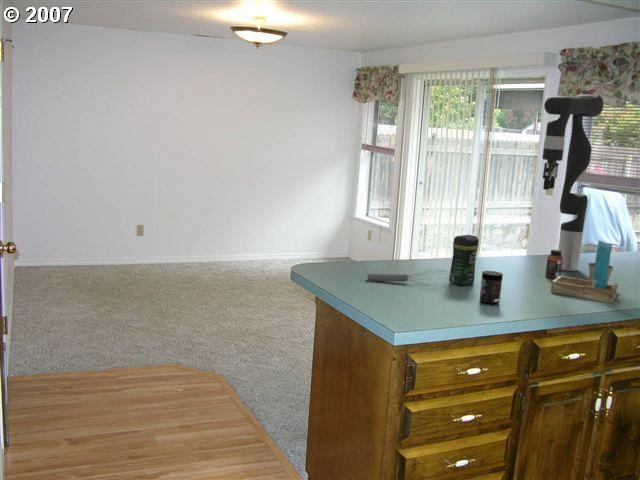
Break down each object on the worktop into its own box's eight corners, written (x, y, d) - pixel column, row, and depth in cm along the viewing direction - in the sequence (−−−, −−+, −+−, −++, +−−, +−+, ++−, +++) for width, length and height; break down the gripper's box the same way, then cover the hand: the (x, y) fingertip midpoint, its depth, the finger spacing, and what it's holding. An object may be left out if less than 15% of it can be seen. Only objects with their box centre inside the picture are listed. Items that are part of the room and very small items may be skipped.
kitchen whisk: (361, 278, 248) (362, 262, 247) (452, 286, 246) (453, 269, 245) (361, 282, 242) (362, 265, 241) (453, 290, 240) (455, 273, 239)
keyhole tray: (557, 285, 257) (559, 273, 256) (616, 295, 246) (618, 282, 245) (550, 291, 246) (552, 278, 245) (611, 302, 235) (613, 289, 234)
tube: (610, 296, 240) (617, 244, 237) (599, 296, 239) (607, 244, 235) (595, 290, 247) (602, 240, 244) (585, 291, 246) (592, 240, 242)
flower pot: (609, 286, 262) (613, 264, 260) (611, 291, 253) (615, 269, 252) (584, 282, 265) (587, 261, 263) (585, 287, 256) (588, 266, 255)
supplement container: (487, 299, 228) (490, 270, 226) (503, 304, 223) (507, 274, 221) (474, 301, 224) (478, 271, 222) (491, 306, 219) (495, 276, 217)
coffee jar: (463, 287, 244) (468, 237, 241) (445, 282, 249) (450, 234, 246) (477, 284, 251) (482, 235, 247) (459, 279, 256) (464, 232, 253)
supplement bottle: (561, 279, 268) (565, 252, 266) (546, 278, 269) (549, 250, 267) (559, 276, 274) (562, 249, 272) (544, 275, 275) (547, 248, 273)
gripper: (547, 147, 268) (543, 187, 271) (539, 147, 256) (534, 189, 259) (567, 148, 265) (561, 189, 268) (559, 148, 253) (554, 191, 255)
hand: (548, 189), depth 263 cm, fingers open, 8 cm apart
